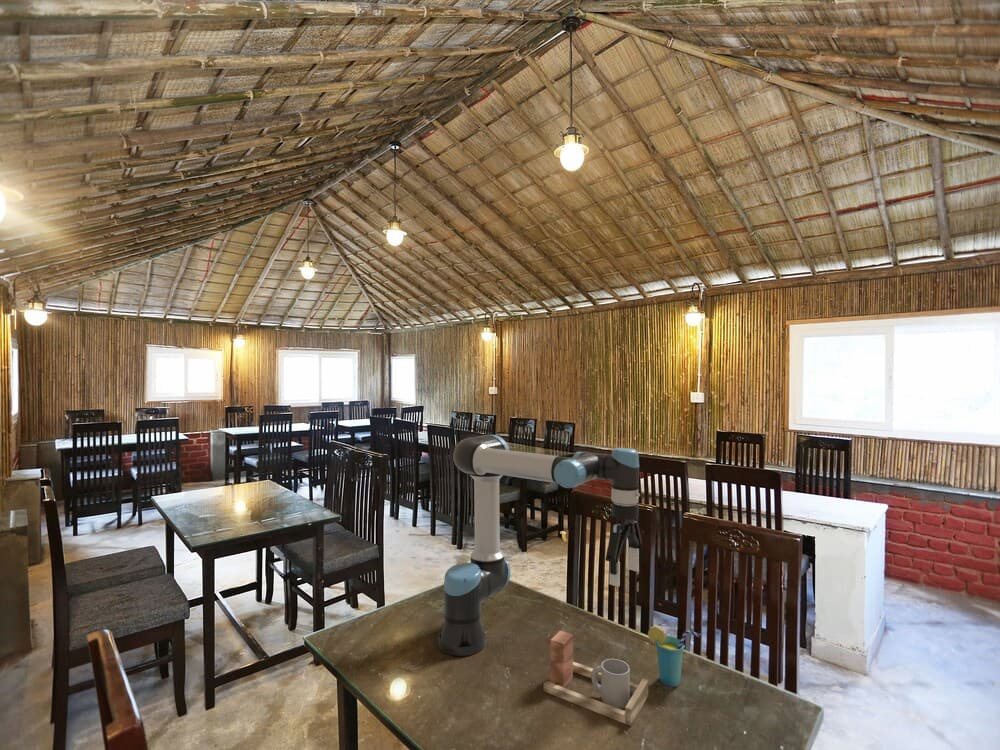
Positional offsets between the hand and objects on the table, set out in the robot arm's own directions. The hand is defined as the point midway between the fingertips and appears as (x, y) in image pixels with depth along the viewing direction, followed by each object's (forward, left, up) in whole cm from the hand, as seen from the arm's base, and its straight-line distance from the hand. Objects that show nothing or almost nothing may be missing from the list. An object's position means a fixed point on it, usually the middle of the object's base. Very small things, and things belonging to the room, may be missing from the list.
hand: (624, 577), depth 140 cm
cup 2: (+13, +4, -28) cm, 31 cm away
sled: (-3, -13, -28) cm, 30 cm away
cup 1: (+1, -13, -28) cm, 30 cm away
